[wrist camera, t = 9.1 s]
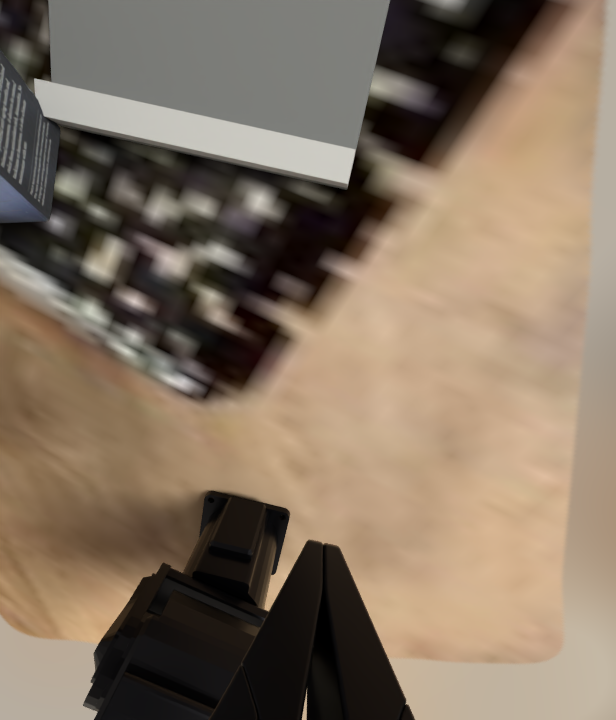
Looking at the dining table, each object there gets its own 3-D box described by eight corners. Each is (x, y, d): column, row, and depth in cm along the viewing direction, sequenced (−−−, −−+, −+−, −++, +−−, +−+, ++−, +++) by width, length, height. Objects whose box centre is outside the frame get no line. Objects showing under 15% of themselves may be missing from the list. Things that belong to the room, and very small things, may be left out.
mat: (346, 189, 17) (347, 183, 16) (60, 125, 18) (36, 114, 16) (410, -92, 14) (419, -132, 12) (51, -166, 14) (19, -214, 13)
